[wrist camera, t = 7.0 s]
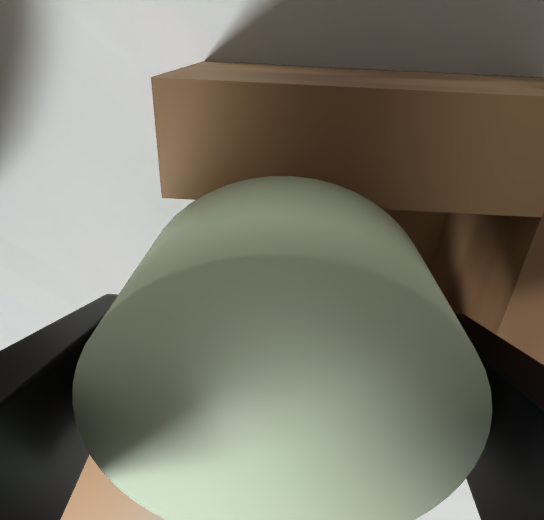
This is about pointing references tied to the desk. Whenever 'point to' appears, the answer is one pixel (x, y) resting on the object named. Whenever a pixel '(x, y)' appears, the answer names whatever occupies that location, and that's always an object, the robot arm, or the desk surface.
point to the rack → (384, 164)
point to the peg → (282, 365)
